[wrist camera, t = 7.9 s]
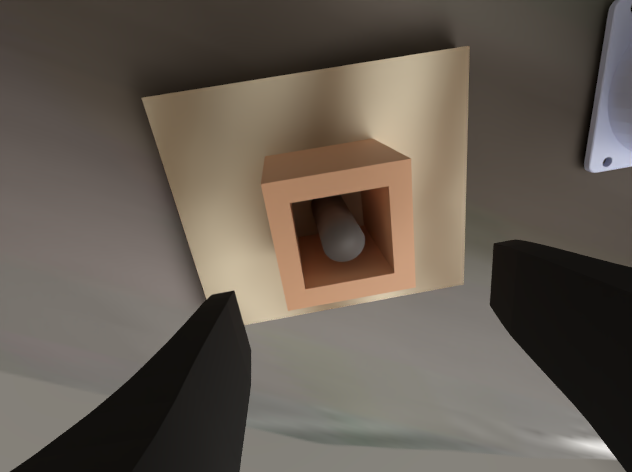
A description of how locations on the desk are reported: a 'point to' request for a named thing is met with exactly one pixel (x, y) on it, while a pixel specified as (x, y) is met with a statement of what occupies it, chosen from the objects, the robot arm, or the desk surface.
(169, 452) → the robot arm
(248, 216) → the post board
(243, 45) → the desk surface
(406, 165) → the square collar
